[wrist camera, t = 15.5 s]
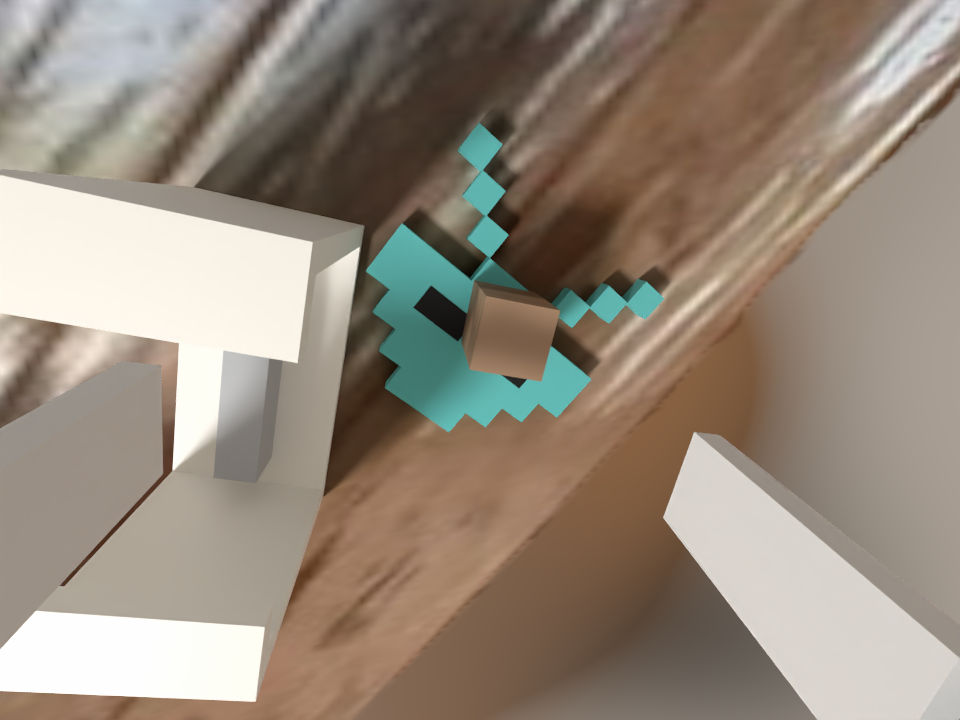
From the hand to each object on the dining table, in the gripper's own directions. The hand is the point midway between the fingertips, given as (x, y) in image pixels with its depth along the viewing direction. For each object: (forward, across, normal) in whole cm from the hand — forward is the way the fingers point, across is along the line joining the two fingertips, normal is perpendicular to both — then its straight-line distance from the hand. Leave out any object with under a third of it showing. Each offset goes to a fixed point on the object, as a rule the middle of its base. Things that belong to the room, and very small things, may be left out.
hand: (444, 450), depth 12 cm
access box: (+27, -12, -9) cm, 31 cm away
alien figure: (+28, +6, -2) cm, 29 cm away
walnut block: (+26, +6, -2) cm, 27 cm away
